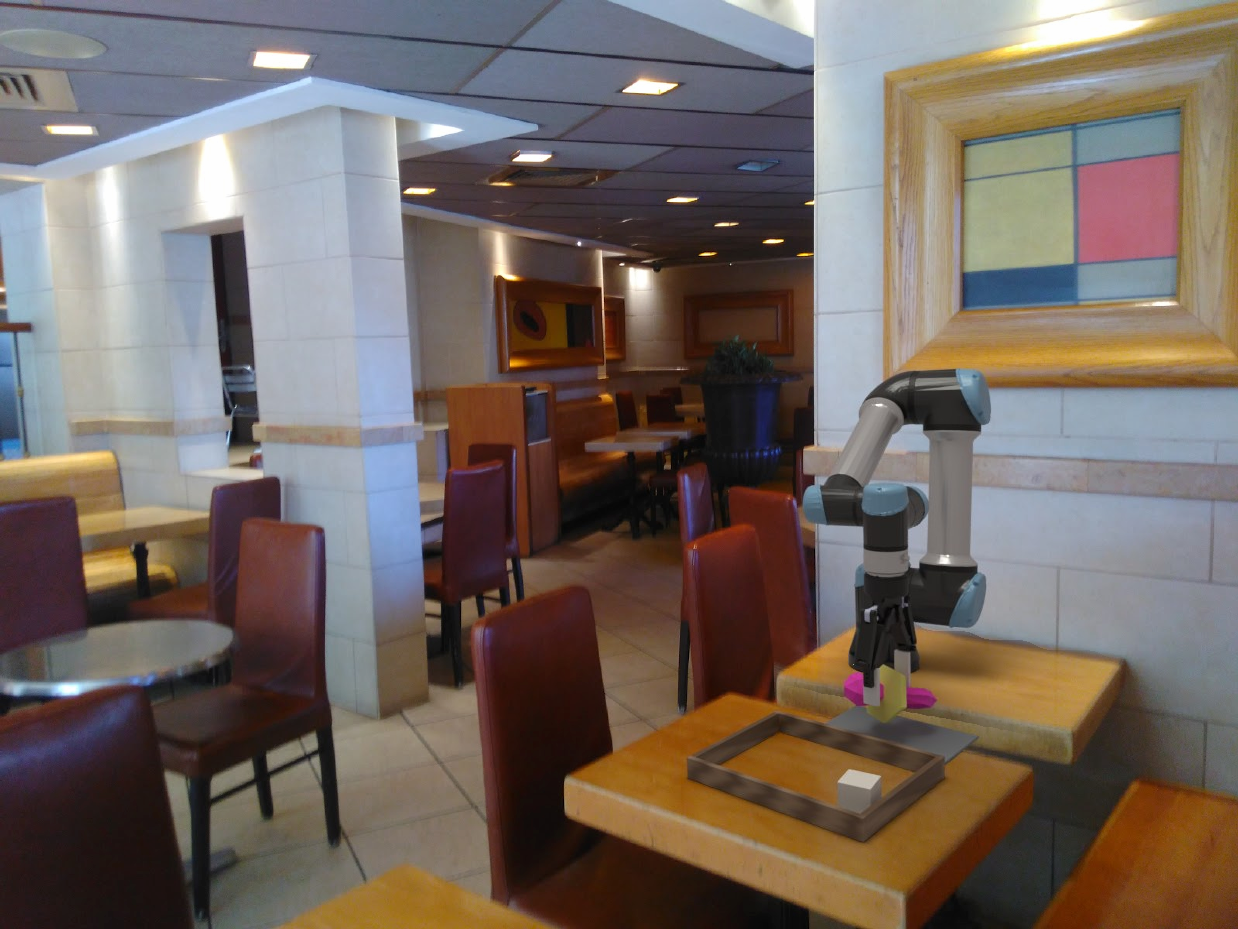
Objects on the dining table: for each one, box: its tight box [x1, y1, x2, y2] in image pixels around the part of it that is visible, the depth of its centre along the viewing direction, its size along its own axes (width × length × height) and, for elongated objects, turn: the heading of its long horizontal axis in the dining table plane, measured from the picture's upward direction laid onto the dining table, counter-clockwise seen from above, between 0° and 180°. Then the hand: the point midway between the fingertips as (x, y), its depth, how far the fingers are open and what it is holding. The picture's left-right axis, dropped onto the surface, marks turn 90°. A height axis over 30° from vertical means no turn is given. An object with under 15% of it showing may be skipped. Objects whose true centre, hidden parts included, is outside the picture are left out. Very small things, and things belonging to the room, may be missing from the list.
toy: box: [843, 664, 938, 723], centre depth 161 cm, size 10×18×10 cm, turn 107°
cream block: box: [836, 768, 883, 814], centre depth 135 cm, size 5×5×5 cm
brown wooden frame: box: [686, 710, 946, 843], centre depth 146 cm, size 32×26×4 cm
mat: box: [824, 705, 980, 765], centre depth 161 cm, size 24×18×1 cm
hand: (887, 695), depth 159 cm, fingers closed on toy, 10 cm apart
